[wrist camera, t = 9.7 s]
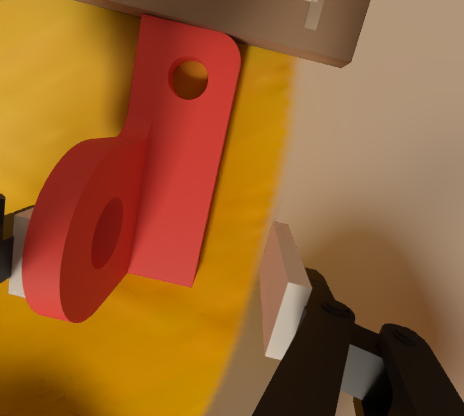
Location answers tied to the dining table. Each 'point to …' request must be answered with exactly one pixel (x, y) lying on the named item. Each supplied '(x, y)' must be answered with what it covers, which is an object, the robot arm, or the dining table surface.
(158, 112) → the bracket
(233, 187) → the dining table surface
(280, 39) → the walnut board
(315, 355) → the robot arm
